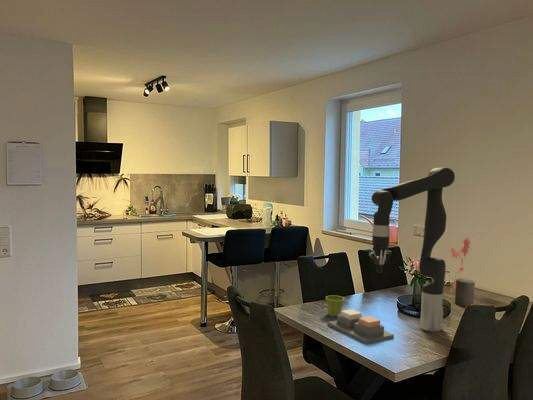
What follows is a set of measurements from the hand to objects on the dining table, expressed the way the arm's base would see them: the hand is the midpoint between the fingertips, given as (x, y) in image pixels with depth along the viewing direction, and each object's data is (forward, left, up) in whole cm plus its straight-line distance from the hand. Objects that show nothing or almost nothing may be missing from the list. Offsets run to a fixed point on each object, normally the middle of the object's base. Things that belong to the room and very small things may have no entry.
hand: (379, 272), depth 203 cm
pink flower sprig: (-97, -25, -27) cm, 104 cm away
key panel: (+9, -2, -27) cm, 28 cm away
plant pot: (+4, -26, -27) cm, 38 cm away
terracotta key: (+9, +4, -22) cm, 24 cm away
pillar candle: (-75, -9, -27) cm, 80 cm away
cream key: (+9, -8, -22) cm, 25 cm away
